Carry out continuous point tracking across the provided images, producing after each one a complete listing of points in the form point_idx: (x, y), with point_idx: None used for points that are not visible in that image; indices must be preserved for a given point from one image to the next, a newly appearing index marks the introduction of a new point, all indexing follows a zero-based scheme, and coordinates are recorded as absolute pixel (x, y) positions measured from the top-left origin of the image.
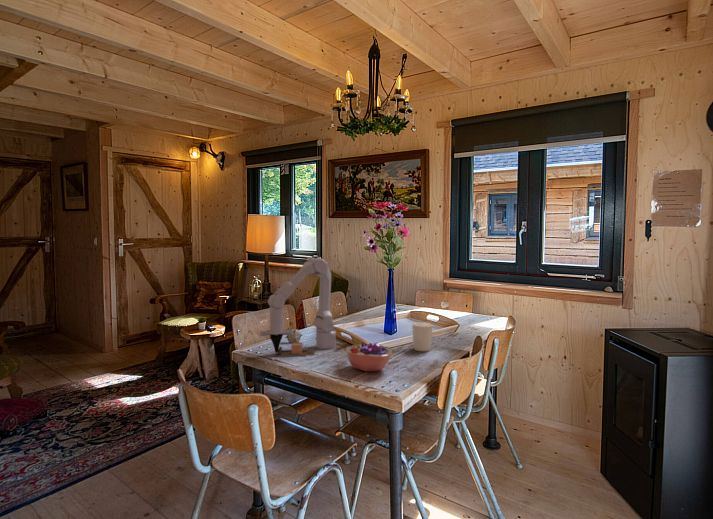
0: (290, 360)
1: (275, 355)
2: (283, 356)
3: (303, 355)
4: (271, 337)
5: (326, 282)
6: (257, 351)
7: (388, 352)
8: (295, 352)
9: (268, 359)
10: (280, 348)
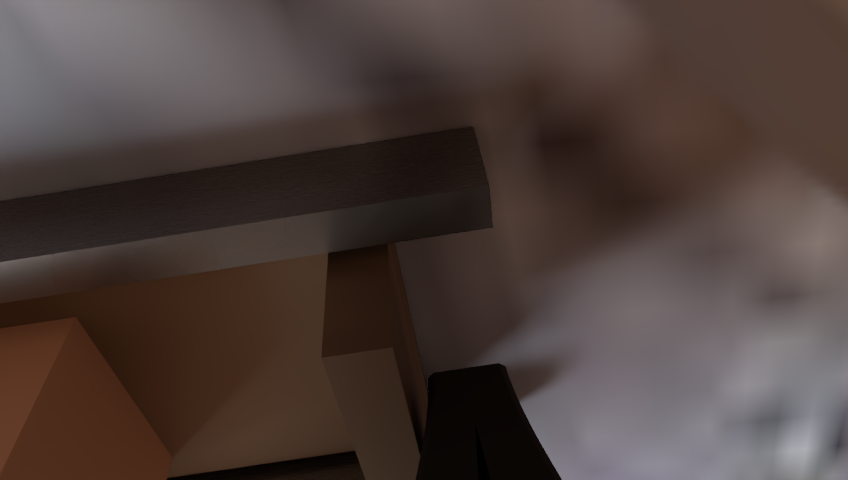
0: (6, 96)
1: (451, 192)
2: (228, 206)
3: None
4: None
5: None
6: (819, 472)
7: None
8: None
9: (619, 122)
10: (386, 478)
